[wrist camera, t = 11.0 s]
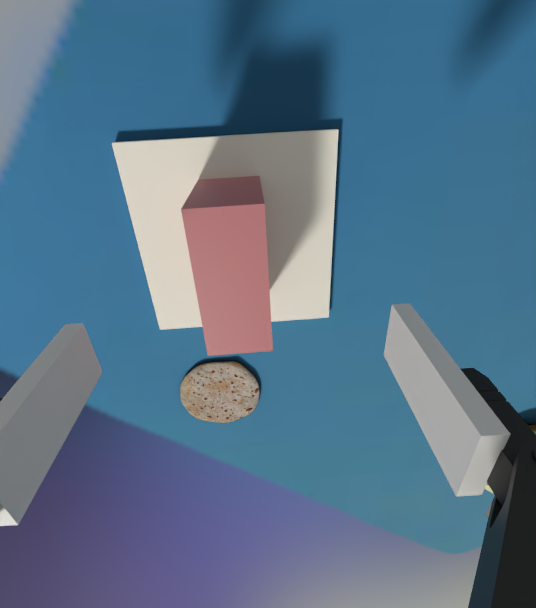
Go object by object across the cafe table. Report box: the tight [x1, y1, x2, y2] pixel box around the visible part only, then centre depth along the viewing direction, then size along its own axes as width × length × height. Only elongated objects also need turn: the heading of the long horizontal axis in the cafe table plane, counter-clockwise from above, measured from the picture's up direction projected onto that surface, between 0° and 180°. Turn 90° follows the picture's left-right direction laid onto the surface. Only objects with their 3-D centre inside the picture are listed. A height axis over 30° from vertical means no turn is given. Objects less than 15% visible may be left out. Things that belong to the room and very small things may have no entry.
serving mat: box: [112, 129, 339, 330], centre depth 25 cm, size 14×14×1 cm
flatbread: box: [181, 361, 259, 423], centre depth 33 cm, size 8×8×1 cm
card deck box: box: [181, 176, 273, 356], centre depth 22 cm, size 9×4×7 cm, turn 3°
